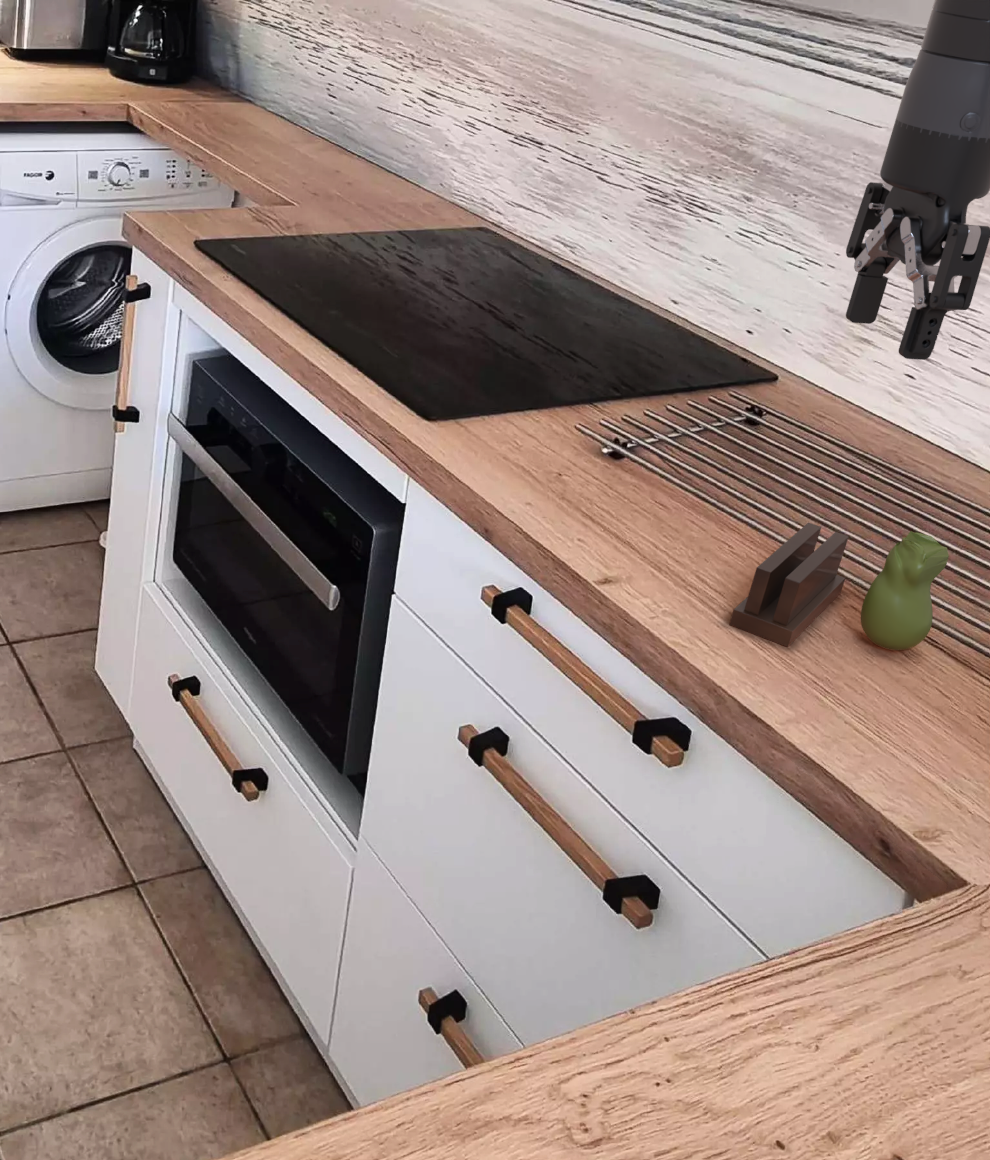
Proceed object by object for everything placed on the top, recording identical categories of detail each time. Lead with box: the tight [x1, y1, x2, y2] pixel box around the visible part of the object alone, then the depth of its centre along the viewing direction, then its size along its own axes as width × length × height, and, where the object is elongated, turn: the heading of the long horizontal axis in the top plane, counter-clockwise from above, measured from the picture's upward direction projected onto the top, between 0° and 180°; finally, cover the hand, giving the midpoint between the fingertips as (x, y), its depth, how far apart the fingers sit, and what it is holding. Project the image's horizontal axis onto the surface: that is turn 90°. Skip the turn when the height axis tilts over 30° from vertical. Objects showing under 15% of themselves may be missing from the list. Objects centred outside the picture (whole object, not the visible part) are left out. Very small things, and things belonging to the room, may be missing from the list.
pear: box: [860, 530, 950, 651], centre depth 124 cm, size 6×5×10 cm
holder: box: [728, 522, 849, 648], centre depth 129 cm, size 5×14×6 cm, turn 143°
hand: (885, 339), depth 116 cm, fingers open, 8 cm apart
